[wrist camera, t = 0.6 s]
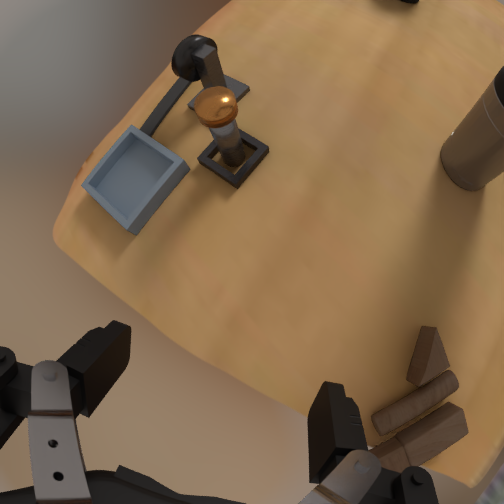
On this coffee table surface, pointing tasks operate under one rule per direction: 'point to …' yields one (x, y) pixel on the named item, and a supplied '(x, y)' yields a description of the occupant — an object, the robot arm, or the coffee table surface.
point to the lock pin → (221, 122)
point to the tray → (135, 178)
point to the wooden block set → (421, 410)
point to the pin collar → (246, 169)
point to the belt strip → (164, 106)
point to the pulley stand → (203, 66)
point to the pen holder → (410, 1)
